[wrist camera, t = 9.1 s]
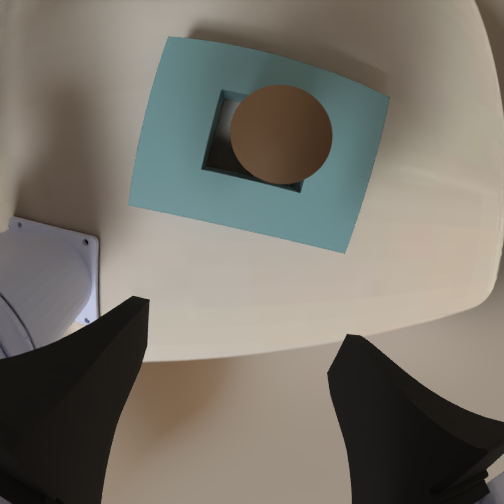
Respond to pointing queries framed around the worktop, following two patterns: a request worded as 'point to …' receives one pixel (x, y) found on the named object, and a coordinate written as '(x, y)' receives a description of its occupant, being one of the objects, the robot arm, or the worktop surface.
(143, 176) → the hole block
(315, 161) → the walnut peg
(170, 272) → the worktop surface
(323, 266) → the worktop surface
